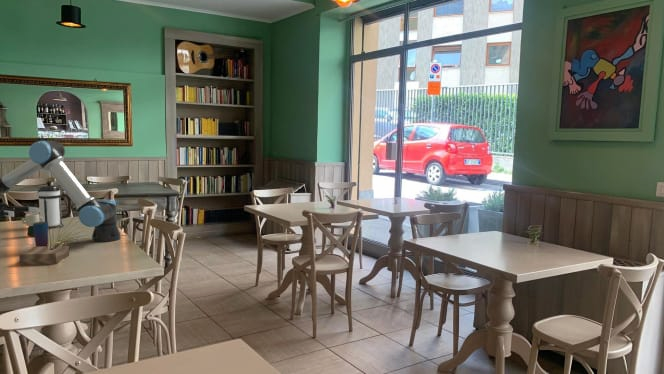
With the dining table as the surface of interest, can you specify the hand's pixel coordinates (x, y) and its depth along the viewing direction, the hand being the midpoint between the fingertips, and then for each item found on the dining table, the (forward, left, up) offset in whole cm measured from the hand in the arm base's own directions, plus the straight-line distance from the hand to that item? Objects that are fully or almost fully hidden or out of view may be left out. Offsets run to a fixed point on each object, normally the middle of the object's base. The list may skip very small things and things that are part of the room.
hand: (26, 212), depth 264 cm
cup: (-9, +5, -20) cm, 22 cm away
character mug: (+12, -36, -20) cm, 43 cm away
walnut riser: (-18, +24, -20) cm, 36 cm away
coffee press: (+12, -65, -20) cm, 69 cm away
